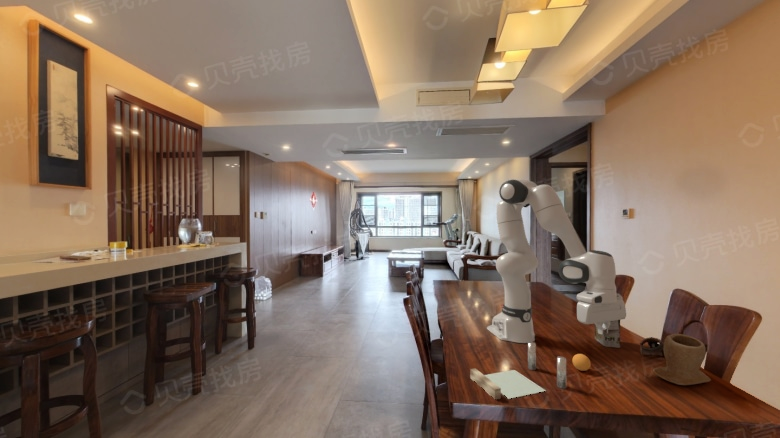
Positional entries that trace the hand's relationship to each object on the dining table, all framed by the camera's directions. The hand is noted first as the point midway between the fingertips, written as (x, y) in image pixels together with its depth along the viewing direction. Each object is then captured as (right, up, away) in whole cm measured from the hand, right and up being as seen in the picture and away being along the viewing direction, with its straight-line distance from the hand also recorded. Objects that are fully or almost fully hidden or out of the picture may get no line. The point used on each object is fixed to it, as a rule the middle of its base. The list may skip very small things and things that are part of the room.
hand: (602, 333), depth 110 cm
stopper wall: (-48, -12, -15) cm, 51 cm away
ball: (-9, -9, -3) cm, 13 cm away
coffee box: (+17, -13, +22) cm, 31 cm away
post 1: (-27, -12, -2) cm, 29 cm away
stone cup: (+20, -12, -10) cm, 26 cm away
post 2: (-23, -12, -14) cm, 29 cm away
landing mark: (-38, -12, -12) cm, 41 cm away
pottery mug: (+27, -13, +9) cm, 31 cm away
